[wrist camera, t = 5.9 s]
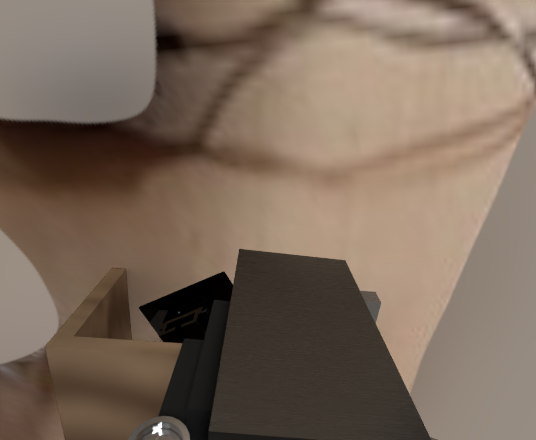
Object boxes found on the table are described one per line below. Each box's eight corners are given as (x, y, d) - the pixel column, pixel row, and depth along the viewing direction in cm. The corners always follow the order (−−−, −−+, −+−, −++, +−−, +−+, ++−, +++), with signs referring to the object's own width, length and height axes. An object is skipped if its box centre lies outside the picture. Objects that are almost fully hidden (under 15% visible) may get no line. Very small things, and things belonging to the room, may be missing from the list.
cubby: (112, 268, 29) (44, 346, 20) (299, 281, 29) (313, 363, 21) (120, 345, 32) (65, 441, 23) (287, 356, 33) (296, 453, 24)
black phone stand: (236, 253, 29) (232, 281, 25) (270, 312, 32) (272, 346, 27) (122, 303, 31) (100, 337, 27) (163, 355, 33) (149, 394, 29)
